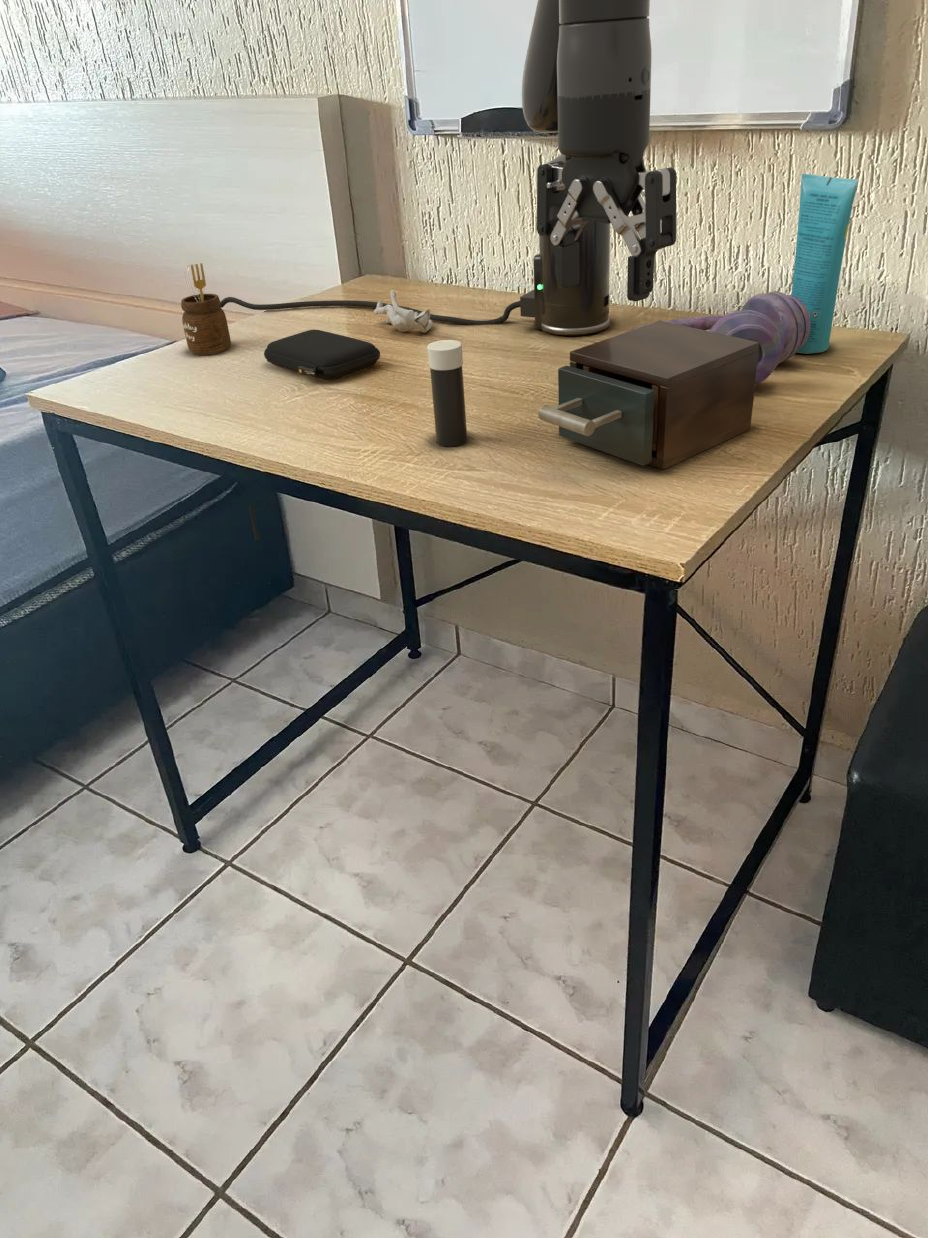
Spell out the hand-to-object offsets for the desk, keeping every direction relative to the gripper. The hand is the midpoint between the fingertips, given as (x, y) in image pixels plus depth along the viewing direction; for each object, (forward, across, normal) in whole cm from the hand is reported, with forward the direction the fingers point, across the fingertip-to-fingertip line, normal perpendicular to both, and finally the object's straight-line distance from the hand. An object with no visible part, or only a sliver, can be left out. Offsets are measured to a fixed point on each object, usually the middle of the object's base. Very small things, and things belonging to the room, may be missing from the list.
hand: (602, 292), depth 85 cm
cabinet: (+15, +1, +7) cm, 17 cm away
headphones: (+15, -7, +26) cm, 31 cm away
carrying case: (+15, -46, -4) cm, 48 cm away
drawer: (+14, +1, +2) cm, 14 cm away
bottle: (+15, -13, -8) cm, 22 cm away
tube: (+15, -3, +39) cm, 42 cm away
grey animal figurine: (+14, -50, +13) cm, 53 cm away
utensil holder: (+14, -65, -10) cm, 67 cm away
